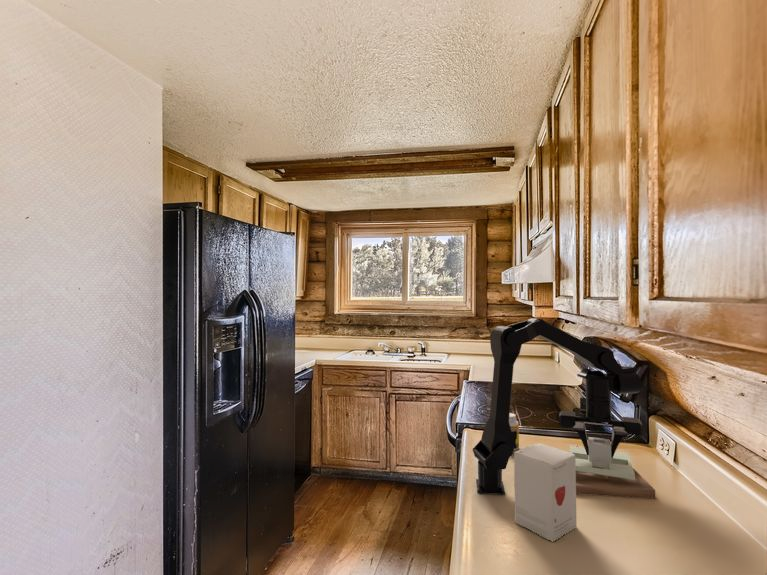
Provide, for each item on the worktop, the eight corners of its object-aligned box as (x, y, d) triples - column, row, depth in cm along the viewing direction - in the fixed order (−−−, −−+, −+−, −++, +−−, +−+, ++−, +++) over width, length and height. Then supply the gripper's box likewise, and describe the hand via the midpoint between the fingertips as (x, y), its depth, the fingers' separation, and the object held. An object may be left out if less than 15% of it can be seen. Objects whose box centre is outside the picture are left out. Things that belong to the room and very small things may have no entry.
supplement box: (553, 544, 79) (551, 465, 79) (513, 523, 86) (512, 451, 86) (578, 527, 84) (576, 453, 84) (539, 509, 92) (537, 441, 92)
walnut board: (655, 498, 95) (654, 468, 95) (572, 493, 98) (571, 463, 98) (624, 466, 113) (623, 440, 113) (554, 462, 116) (554, 437, 116)
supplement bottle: (501, 450, 126) (500, 417, 126) (499, 444, 131) (498, 411, 131) (520, 451, 125) (520, 417, 125) (517, 444, 130) (516, 412, 130)
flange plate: (628, 457, 109) (627, 436, 109) (635, 479, 96) (634, 455, 96) (570, 450, 115) (569, 429, 115) (569, 469, 102) (568, 446, 102)
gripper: (636, 391, 109) (638, 450, 109) (559, 385, 117) (561, 440, 117) (642, 401, 99) (644, 466, 99) (558, 394, 107) (559, 454, 107)
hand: (599, 456), depth 106 cm, fingers closed on flange plate, 5 cm apart
